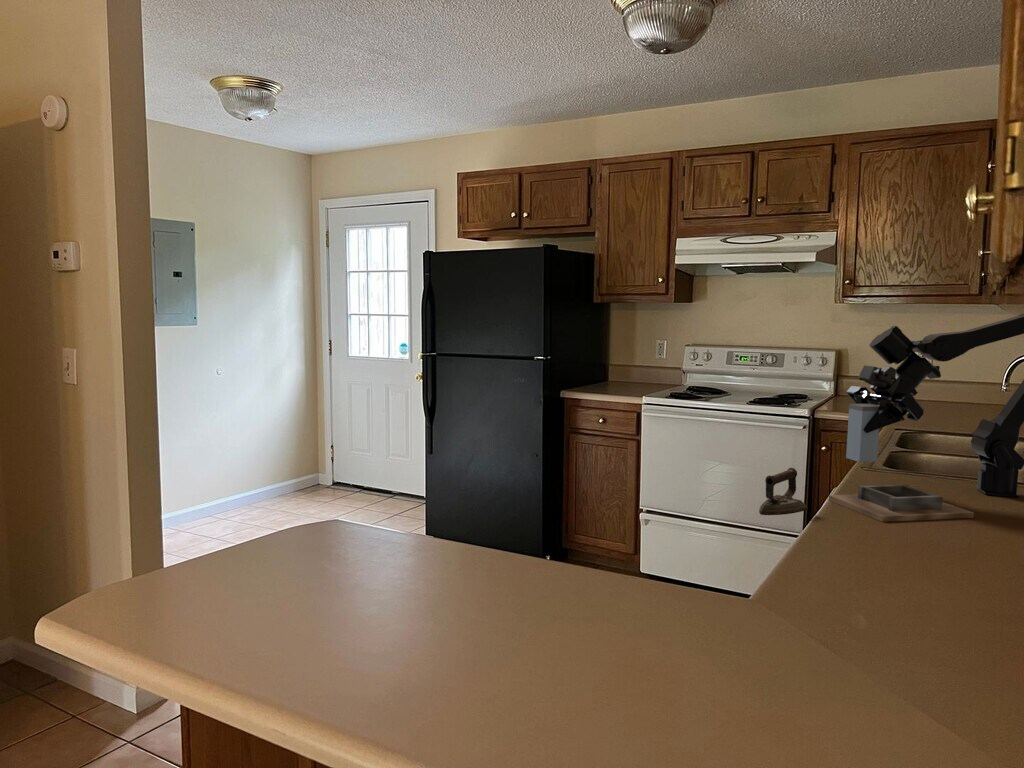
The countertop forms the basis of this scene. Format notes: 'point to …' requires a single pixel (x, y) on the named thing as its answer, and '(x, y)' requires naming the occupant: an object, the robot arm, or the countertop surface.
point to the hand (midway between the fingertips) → (857, 429)
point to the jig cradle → (899, 504)
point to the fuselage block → (861, 434)
